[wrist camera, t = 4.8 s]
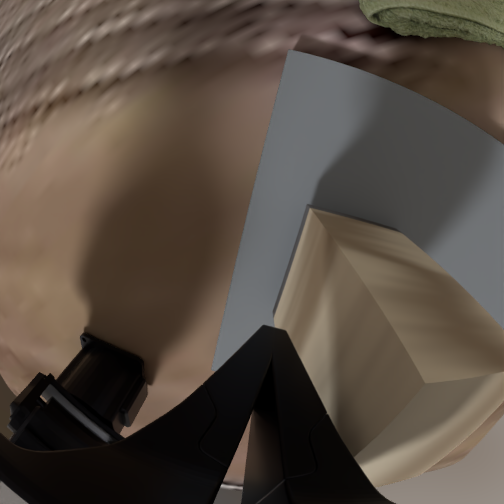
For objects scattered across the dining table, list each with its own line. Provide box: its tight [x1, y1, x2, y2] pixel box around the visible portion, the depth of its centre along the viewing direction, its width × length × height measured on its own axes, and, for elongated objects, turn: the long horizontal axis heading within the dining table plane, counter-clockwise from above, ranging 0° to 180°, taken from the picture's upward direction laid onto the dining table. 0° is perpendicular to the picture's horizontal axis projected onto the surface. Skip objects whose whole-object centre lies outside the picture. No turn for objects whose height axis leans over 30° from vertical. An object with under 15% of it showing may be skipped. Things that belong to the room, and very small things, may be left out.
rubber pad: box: [211, 49, 504, 371], centre depth 15 cm, size 22×20×1 cm
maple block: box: [272, 204, 504, 487], centre depth 10 cm, size 5×6×10 cm
